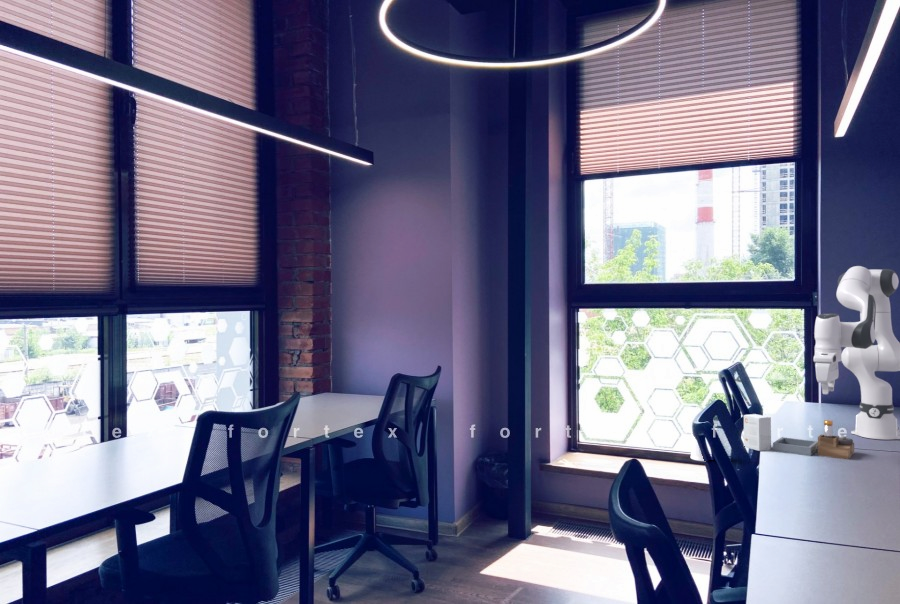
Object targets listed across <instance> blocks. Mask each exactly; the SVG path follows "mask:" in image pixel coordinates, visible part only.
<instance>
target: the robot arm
mask: <svg viewBox="0 0 900 604" xmlns="http://www.w3.org/2000/svg"><path fill="white" fill-rule="evenodd" d="M899 282H900V281H899V277H898V274H897V272H896V271H894V269H890V268H883V269H878V268H877V269H876V268H875V269H871V268H870V269H868V268H867V267H864V266H861V265H856V266H855V265H854V266H852V267H849V268H848V269H847V271H846V272H844V273H841V275H839V276H838V279H837V289H836V292H835V293H836V299H837V301H838V303H840V304H841V305H842V306H843V307H845V308H847V309H849V310H854V311H857V312H859V318H860V319H859V320H860V321H853V322H852V321H848V322H847V321H846V322H845V321H840V316H839V314H838V313H831V312H830V313H829V312H827V313H821V314H819V315H817V316H816V318H815V322H814V332H813V334H814V336H813V337H814V340H815V345H814V355H813V362H814V367H815V377H816V381H817V383H820V386H821V391H822V393H821V394H823V395H829V392H834V391H835V383H836V380H838V379H839V374H840V373H839V370H840V369H839V362H841V364H843V366H844V367H845V368H846V369H847V370H849V371H850V372H852V374H853V375H854V376H855V377H856V379H857V381H858V383H859V386H860V400H861V401H860V402H859V411H860V412H858V413H857V414H856V415H855V429H854V430H851V431H850V434H851V435H852V434H853V435H856V436H859V437H863V438H865V439H866V438H868V439H872V440H873V439H874V440H900V428H899V426H898V418H897V417H896V416H895V415H894V412H895V411H894V409H895V407H894V404H893V388H892V386H891V384H890V383H889V382H888V381H885V380H884V379H882V378H879V377H877V376H876V374H875V372H900V342H899V341H898V339H897V337H896V336H895V334H894V330H893V326H892V312H891V311H892V310H891V302H890V297H891V295H892V294H894V293H895V292H896V291H897V289H898V287H899ZM875 341H876V343H877V344H875ZM874 344H875V345H874ZM842 348H844V349H843V350H842Z"/></svg>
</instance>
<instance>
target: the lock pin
mask: <svg viewBox="0 0 900 604" xmlns="http://www.w3.org/2000/svg"><path fill="white" fill-rule="evenodd" d="M833 423H834V421H833V420H829V419H828V420H827V419H826V420H823V429H824V430H823V432H824V433H823V435H824V437H825V438H833V436H834V434H833V431H834V430H833V429H834V427H833V425H834V424H833Z"/></svg>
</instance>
